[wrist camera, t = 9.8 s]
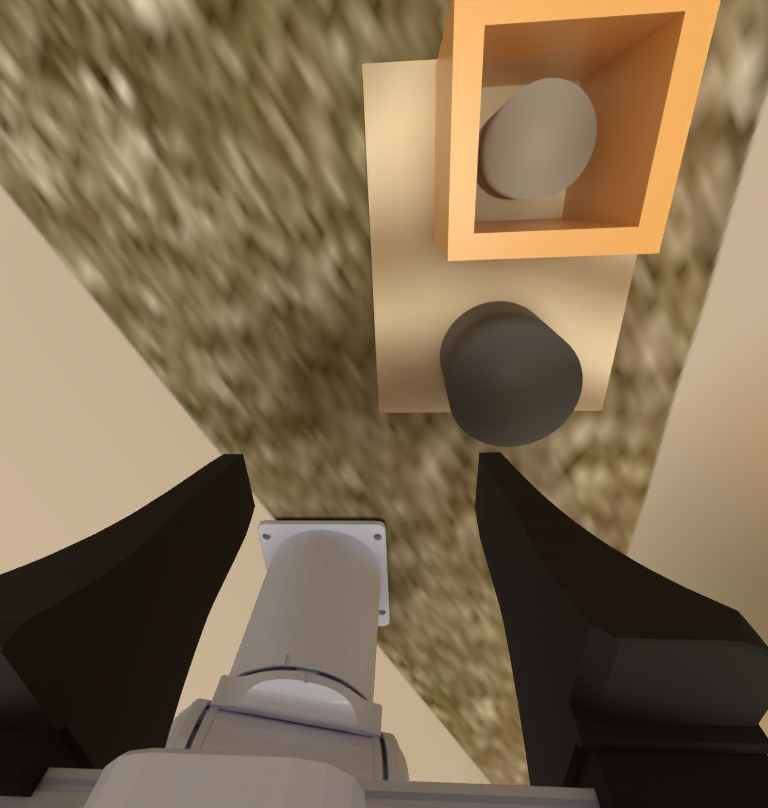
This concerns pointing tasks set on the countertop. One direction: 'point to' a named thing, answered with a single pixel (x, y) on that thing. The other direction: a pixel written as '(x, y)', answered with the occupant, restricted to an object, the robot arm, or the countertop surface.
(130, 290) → the countertop surface
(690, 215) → the countertop surface
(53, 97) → the countertop surface
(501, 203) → the fitting board
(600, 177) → the sleeve
